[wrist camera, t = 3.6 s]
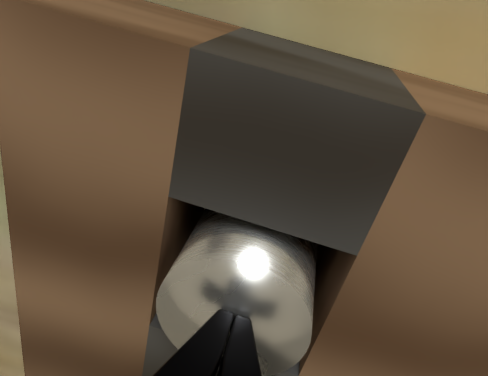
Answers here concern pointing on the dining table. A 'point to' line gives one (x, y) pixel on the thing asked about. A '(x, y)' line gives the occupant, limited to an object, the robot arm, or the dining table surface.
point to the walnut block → (234, 186)
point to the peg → (243, 286)
